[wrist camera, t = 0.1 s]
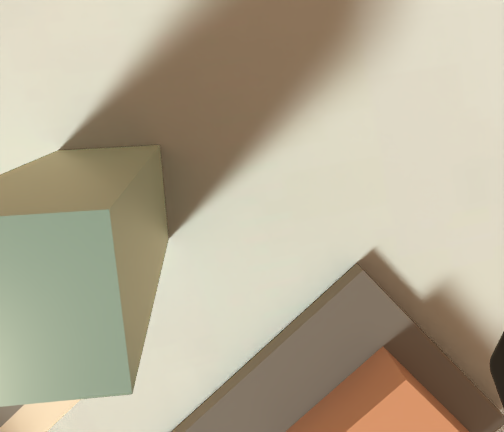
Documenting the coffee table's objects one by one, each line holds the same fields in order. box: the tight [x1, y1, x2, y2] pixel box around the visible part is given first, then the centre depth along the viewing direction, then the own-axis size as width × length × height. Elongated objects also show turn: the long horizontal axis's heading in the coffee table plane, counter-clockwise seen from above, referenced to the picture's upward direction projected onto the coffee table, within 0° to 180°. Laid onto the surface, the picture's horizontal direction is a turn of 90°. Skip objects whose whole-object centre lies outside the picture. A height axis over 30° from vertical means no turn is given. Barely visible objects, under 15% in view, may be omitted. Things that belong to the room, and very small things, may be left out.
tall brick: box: [0, 145, 169, 407], centre depth 17 cm, size 5×5×12 cm
